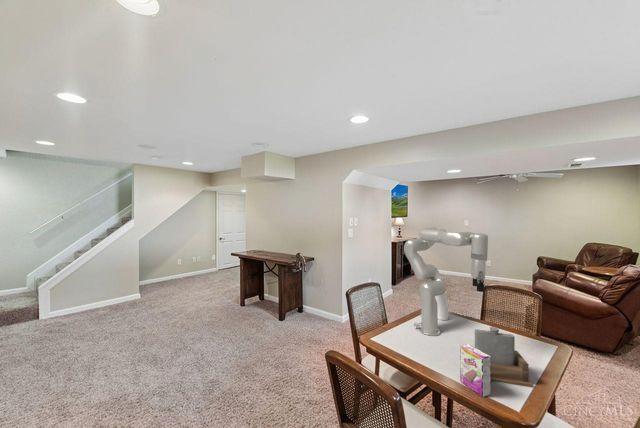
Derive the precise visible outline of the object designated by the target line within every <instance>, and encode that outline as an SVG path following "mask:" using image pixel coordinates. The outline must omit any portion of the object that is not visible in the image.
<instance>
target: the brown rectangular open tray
mask: <svg viewBox="0 0 640 428" xmlns="http://www.w3.org/2000/svg"><path fill="white" fill-rule="evenodd" d="M529 376H530V375H529V363H528V362H527V361H526V360H525V358H524V357H523V355H521V354H520V352H519V351H518V350H515V366H511V365H504V364H497V363H491V382H497V383H502V384H509V385H515V386H521V387H527V388H534V385H533V383H532V382H531V381H530V379H529Z"/></svg>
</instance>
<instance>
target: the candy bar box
mask: <svg viewBox="0 0 640 428" xmlns="http://www.w3.org/2000/svg"><path fill="white" fill-rule="evenodd" d="M459 348H460V350H459V351H460V355H459V358H460V359H459V360H460V363H459V365H460V366H459V367H460V368H459V369H460V370H459V371H460V372H459V373H460V375H459V376H460V377H459V378H460V379H459V380H460V383H462V384H463V385H465V386H466V387H467V388H469V389H470V390H472V391H473V392H475V393H476V394H478V395H479V396H480V397H482V398H485V397H487V396H491V394H492V393H491V387H492V386H491V383H492V381H491V356H489V355H487V354H485V353H484V352H482V351H480V350H478V349H476V348H475V346H473V345H471V344H468V343H466V344H462V345H460V347H459Z"/></svg>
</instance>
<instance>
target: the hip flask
mask: <svg viewBox="0 0 640 428" xmlns="http://www.w3.org/2000/svg"><path fill="white" fill-rule="evenodd" d="M474 348H476V349H478V350H480V351H482V352H484V353H485V354H487V355H489V356H491V363H497V364H504V365H511V366H515V351H516V349H515V348H516V347H515V335H514V334H511V333H502V332H500V329H499V328H497V327H493V326H490V327H489V330H485V329H474Z"/></svg>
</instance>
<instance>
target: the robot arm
mask: <svg viewBox="0 0 640 428" xmlns="http://www.w3.org/2000/svg"><path fill="white" fill-rule="evenodd" d="M418 236H419V237H418V238H411V239H408V240H406V242H405V243H404V245H403V251H404V252H403V253H404V255H405V257H406V258H407V260H408V262H409V264H410V266H411V269H412V271H413V273H414V275H415V277H416V278H417V280H419V281H425V282H422V283H421V284H420V286H419V294H420V300H421V301H420V306H421V309H420V310H421V314H420V316H421V321H420V322H419V323H418V322H414V323H413V326H414V327H416V328H418V331H419V332H420V333H421V334H423V335H426V336H431V337H435V336H439V335H441V330H440V329H439V328H438V327H439V325H438V324H439V323H438V321H439V320H438V306H437V301H436V299H435V296H438V295H441V294H443V293H445V294H446V290H447V289H446V288H447V287H446V284H445V282H444V280H443V279H442V277H441V276H442V275H441V273H440V271H439V269H438V268H437V267H436V265H433V264H432V263H431V264H430V263H429V264H426V263H425V262H424V259H423V257H422V256H421V255H420V254H419V253H418V252H421V251H427V250H429V249H430V248H431V247H433V246H434V244H436V243H438V244H442V245H447V246H452V247H464V246H465V247H466V246H470V260H471V267H470V269H471V270H470V276H471V277H472V286H473V287H476V292H480V293H484V292H485V279H486V262H487V261H488V252H489V251H488V248H489V247H488V245H489V236H488V234H486V233H477V232H476V233H475V232H471V231H461V232H460V231H459V232H453V231H447V230H446V229H444V228H437V227H424V228H421V229H420V230H419V232H418ZM426 280H427V281H426Z"/></svg>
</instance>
